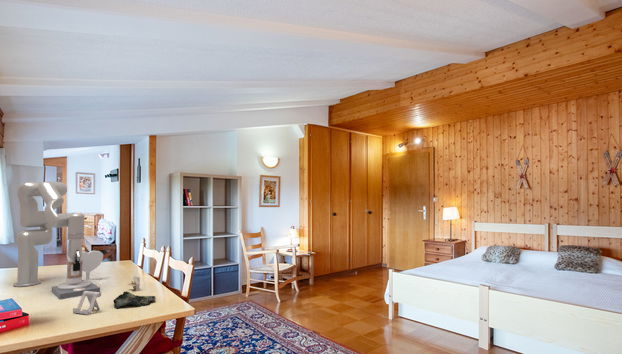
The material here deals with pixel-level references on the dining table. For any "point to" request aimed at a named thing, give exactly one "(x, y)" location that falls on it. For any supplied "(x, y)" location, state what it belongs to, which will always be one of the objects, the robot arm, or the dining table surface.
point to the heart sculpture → (91, 262)
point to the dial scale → (74, 289)
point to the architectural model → (135, 283)
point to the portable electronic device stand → (92, 301)
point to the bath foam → (73, 275)
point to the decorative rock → (132, 300)
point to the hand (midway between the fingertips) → (74, 269)
